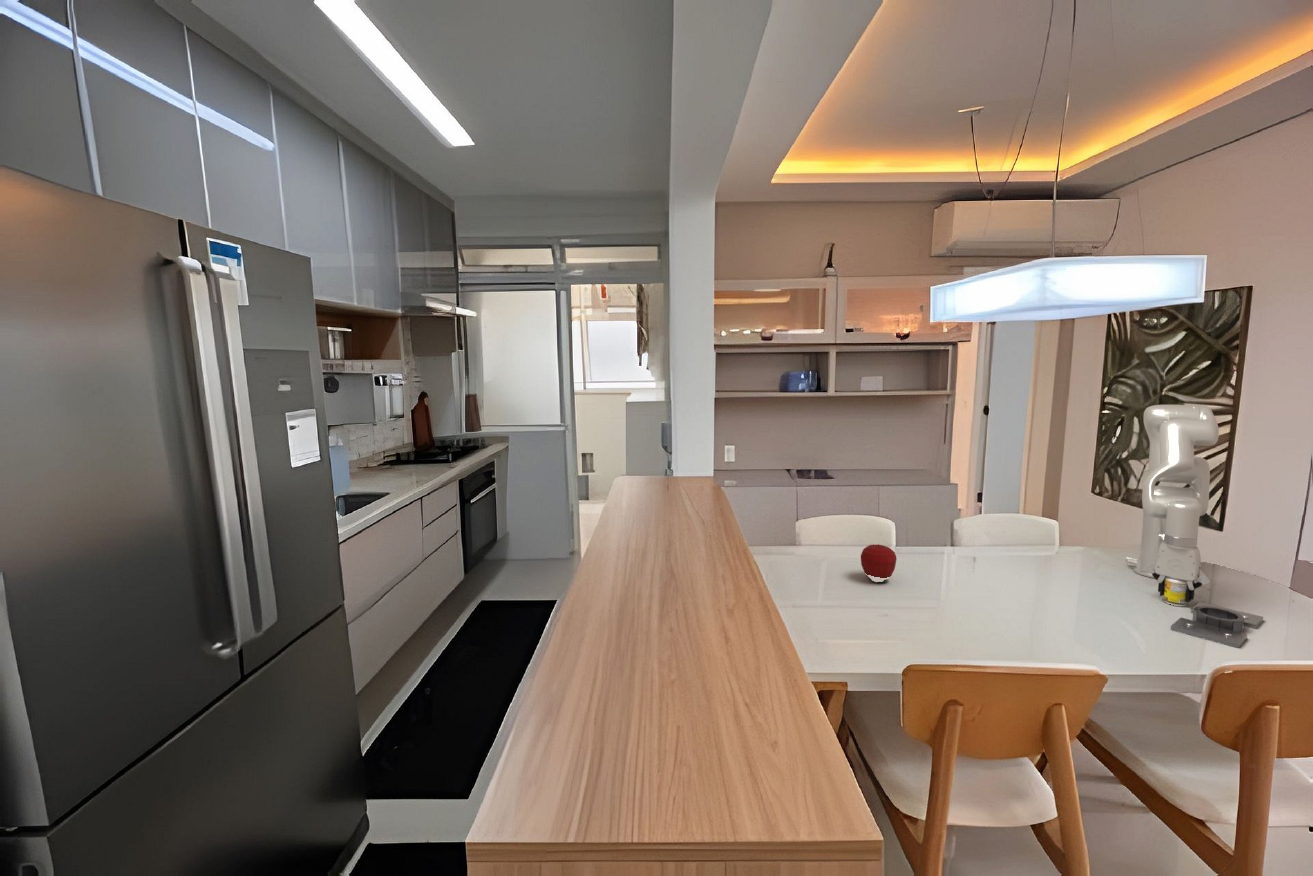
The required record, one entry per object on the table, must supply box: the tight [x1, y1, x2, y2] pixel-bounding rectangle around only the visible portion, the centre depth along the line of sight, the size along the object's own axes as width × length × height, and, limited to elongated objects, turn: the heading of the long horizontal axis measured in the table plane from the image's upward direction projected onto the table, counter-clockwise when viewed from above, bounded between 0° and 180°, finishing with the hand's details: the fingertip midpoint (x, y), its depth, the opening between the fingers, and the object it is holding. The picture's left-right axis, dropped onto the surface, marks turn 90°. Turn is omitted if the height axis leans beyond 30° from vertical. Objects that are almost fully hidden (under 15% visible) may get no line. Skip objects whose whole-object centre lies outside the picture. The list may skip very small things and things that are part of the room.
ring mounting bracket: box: [1170, 601, 1264, 649], centre depth 171 cm, size 28×14×4 cm, turn 126°
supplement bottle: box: [1163, 576, 1188, 607], centre depth 186 cm, size 6×6×10 cm
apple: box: [860, 543, 898, 578], centre depth 210 cm, size 12×12×13 cm
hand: (1175, 597), depth 187 cm, fingers closed on supplement bottle, 5 cm apart
